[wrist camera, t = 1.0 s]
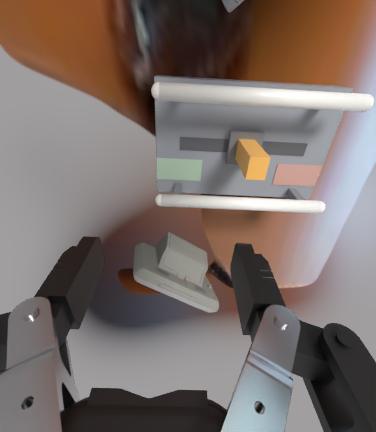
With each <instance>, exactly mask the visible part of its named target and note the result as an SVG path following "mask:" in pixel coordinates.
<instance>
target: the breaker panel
mask: <svg viewBox="0 0 376 432" xmlns="http://www.w3.org/2000/svg"><path fill="white" fill-rule="evenodd" d="M353 89H354V88H347V87H341V86H334V85H317V84H300V83H283V82H266V81H249V80H233V79H216V78H199V77H182V76H165V75H157V76H155V77H154V85H153V86H152V89H151V93H152V96H153V97H154V98H155V124H156V160H157V161H156V162H157V191H158V192H174V194H158V195H157V196H156V198H155V202H156V204H157V205H158V206H165V207H188V208H189V207H190V208H211V209H233V210H256V211H279V212H302V213H321V212H323V211H324V210H325V204H324V203H323V202H322V201H314V200H305V199H304V198H306V199H309V198H310V195H311V193H312V191H313V188H314V187H315V184H316V182H317V179H318V177H319V174H320V172H321V169H322V167H323V163H324V161H325V158H326V156H327V153H328V151H329V148H330V146H331V143H332V141H333V138H334V136H335V133H336V131H337V128H338V126H339V123H340V121H341V118H342V116H343V113H344V111H349V112H365V111H367V110H369V109H370V108H371V107H372V105H373V103H374V98H373V96H372V95H370V94H359V93H352V91H353ZM230 130H241V131H260V132H264V133H265V135H264V140H263V144H262V148H263V149H264V151H265V152H266V153H267V154H268V155H269V156H270V157H271V158H270V162H269V166H268V170H267V174H266V178H265V180H247V179H245V177H244V175H243V173H242V171H241V169H240V167H239V165H234V164H226V155H227V148H228V141H229V135H230ZM182 193H199V194H219V195H241V196H263V197H285V198H289V199H270V198H248V197H226V196H204V195H182Z"/></svg>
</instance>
